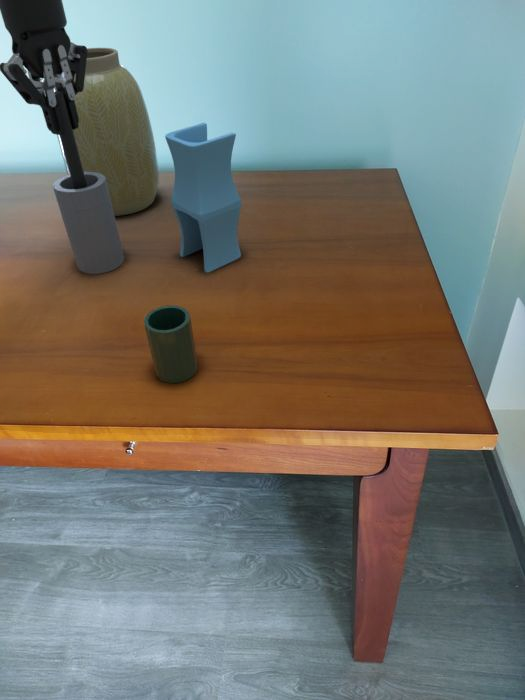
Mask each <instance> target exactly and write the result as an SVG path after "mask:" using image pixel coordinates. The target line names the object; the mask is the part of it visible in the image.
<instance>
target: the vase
mask: <svg viewBox="0 0 525 700" xmlns="http://www.w3.org/2000/svg"><path fill="white" fill-rule="evenodd" d="M86 48H87V47H86ZM87 51H88V52H87V61H86V70H85V79H84V88H83V91H82V92H78V93H77V94H76V95H75V99H74V102H75V106H76V110H77V114H78V118H79V123H78V125H79V127H78V128H77V129H74V130H73V133H74V137H75V140H76V144H77V148H78V152H79V156H80V160H81V163H82V167H83V171H84V172H96V173H100V174H102V175H104V176H105V178H106V182H107V186H108V190H109V195H110V199H111V203H112V207H113V212H114V216H115V217H119V216H127V215H132V214H135V213H138V212H140V211H143V210H145V209H147V208H148V207H150V206H151V205H152V204H153V203H154V201H155V200H156V196H157V193H158V191H159V186H160V181H161V180H160V178H161V177H160V175H161V174H160V168H159V159H158V153H157V147H156V142H155V137H154V133H153V128H152V123H151V118H150V115H149V111H148V108H147V104H146V101H145V98H144V96H143V95H144V94H143V93H142V90H141V87H140V85H139V83H138V81H137V80H136V78H135V77H134V76H133V74H132V73H131V72H130V71H129V70H128V69H127V68H126V67H124V66H123V65H121V64H120V59H119V52H118V50H117V49H115V48H111V47H88V48H87ZM75 77H76V74H75ZM74 82H75V78H74ZM62 85H63V84H62ZM54 92H55V89H54ZM58 138H59V141H60V147H61V150H62V155H63V158H64V162H65V166H66V169H67V173H68V175H70V172H69V168H68V165H67V161H66V157H65V154H64V150H63V147H62V143H61V139H60V136H59V135H58Z"/></svg>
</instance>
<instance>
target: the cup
mask: <svg viewBox="0 0 525 700" xmlns="http://www.w3.org/2000/svg"><path fill="white" fill-rule="evenodd" d="M84 175H85V179H86V183H87V187H86V188H81V189H74V186H73V183H72V179H71V175H69V174H67V175H64V176H62V177H59V178H57V179H56V180H55V181H54V182H53V184H52V188H53V193H54V195H55V199H56V202H57V205H58V209H59V211H60V214H61V218H62V222H63V225H64V228H65V231H66V235H67V238H68V242H69V244H70V247H71V248H70V249H71V250H72V255H73V257H74V261H75V264H76V267H77V269H78V270H79V271H80V272H82V273H83V274H88V275H99V274H100V275H101V274H105V273H110V272H111V271H114V270H116V269H117V268H119V267H120V266H121V265H122V264H123V263H124V261H125V256H124V251H123V246H122V241H121V238H120V237H121V236H120V233H119V229H118V225H117V221H116V216H114V212H113V207H112V203H111V199H110V195H109V190H108V186H107V182H106V178H105V176H104V175H102V174H100V173H96V172H84Z"/></svg>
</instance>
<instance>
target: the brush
mask: <svg viewBox="0 0 525 700" xmlns="http://www.w3.org/2000/svg"><path fill="white" fill-rule="evenodd" d="M54 93H55V98H56V106H59V110H60V114H61V117H62V121H63V125H64V128H65V133H64V134H62V135H58V137H59V136H60V137H59V140H60V139H61V142H60V144H61V143H62V146H61V148H62V147H63V150H64V154H65V157H66V161H67V165H68V168H69V172H70V175H71V179H72V183H73V186H74V189H81V188H86V187H87V183H86V179H85V175H84V171H83V167H82V163H81V160H80V156H79V152H78V148H77V144H76V140H75V137H74V133H73V129H72V125H71V121H70V117H69V113H68V110H67V106H66V102H65V98H64V94H63V92H61V91H55V92H54Z"/></svg>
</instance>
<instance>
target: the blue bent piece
mask: <svg viewBox="0 0 525 700" xmlns="http://www.w3.org/2000/svg"><path fill="white" fill-rule="evenodd" d="M236 136H237V133H235V132H230V133H227V134H226V133H225V134H224V135H220V136H217V137H214V138H211V139H208V124H207V123H206V122H201V123H197V124H195V125H191V126H188V127H185V128H180V129H176V130H174V131H170V132H168V133H166V134H165V135H164V138H165V141H166V143H167V146H168V149H169V151H170V156H171V158H172V162H173V167H174V183H173V185H174V186H173V191H172V195H171V199H170V202H171V203H170V204H171V207H172V209H173V212H174V214H175V217H176V219H177V223H178V226H179V230H180V237H181V238H180V239H181V240H180V251H179V257H181V258H184V257H187V256H189V255H191V254H193V253H196V252H198V251H200V250H202V251H203V271H204V272H205V273H207V274H208V273H211V272H213V271H215V270H217V269H219V268H222V267H224V266H227V265H228V264H230V263H232V262H234V261H236V260H239V259H240V258H241V257H242V252H241V249H240V245H239V239H238V225H239V219H240V213H241V209H242V199H241V197H240V194H239V192H238V190H237V188H236V185H235V182H234V179H233V175H232V155H233V150H234V144H235V141H236V138H237V137H236Z"/></svg>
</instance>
